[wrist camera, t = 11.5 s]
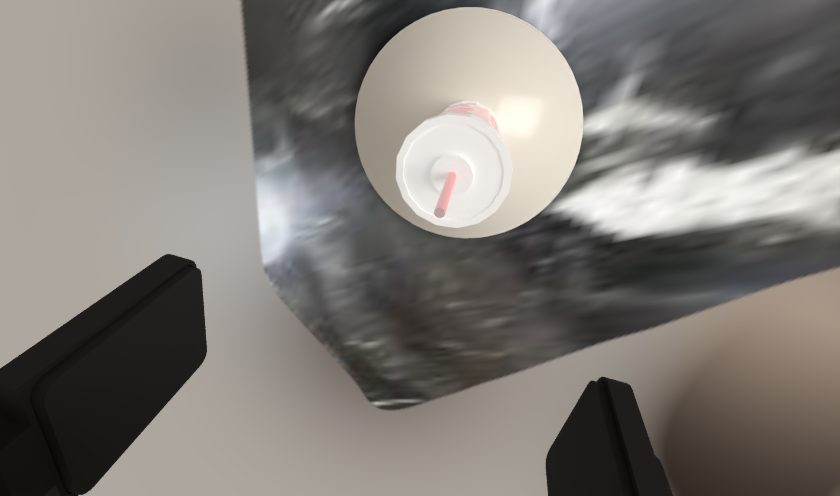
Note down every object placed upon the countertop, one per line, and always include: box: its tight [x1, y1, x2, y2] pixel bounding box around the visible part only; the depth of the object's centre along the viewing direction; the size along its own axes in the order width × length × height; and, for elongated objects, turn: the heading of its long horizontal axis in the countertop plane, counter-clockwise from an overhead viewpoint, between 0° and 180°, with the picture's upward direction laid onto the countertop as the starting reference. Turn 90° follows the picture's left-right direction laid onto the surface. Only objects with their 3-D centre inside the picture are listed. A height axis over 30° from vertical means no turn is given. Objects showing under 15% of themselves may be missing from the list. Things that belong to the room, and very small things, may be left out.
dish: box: [355, 7, 583, 238], centre depth 30 cm, size 16×16×1 cm
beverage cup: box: [396, 101, 513, 228], centre depth 24 cm, size 6×6×14 cm
